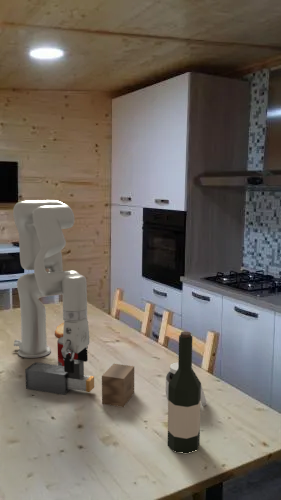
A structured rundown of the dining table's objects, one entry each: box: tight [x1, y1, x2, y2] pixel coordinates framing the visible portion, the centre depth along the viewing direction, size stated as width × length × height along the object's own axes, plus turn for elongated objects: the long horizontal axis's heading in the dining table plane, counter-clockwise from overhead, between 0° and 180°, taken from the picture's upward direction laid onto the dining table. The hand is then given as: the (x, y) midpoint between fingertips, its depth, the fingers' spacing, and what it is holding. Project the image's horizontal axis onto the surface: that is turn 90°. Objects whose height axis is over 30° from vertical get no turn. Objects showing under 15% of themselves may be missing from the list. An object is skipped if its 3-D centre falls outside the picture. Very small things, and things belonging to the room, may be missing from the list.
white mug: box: [165, 361, 208, 407], centre depth 143 cm, size 12×11×12 cm
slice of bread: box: [54, 322, 64, 339], centre depth 211 cm, size 18×18×4 cm
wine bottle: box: [167, 331, 202, 454], centre depth 119 cm, size 8×8×30 cm
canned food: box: [56, 337, 78, 366], centre depth 168 cm, size 8×8×11 cm
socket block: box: [101, 363, 135, 408], centre depth 146 cm, size 7×10×9 cm
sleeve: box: [25, 361, 71, 396], centre depth 153 cm, size 14×6×7 cm, turn 72°
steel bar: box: [66, 359, 95, 393], centre depth 152 cm, size 20×4×9 cm, turn 72°
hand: (76, 366), depth 149 cm, fingers open, 9 cm apart
